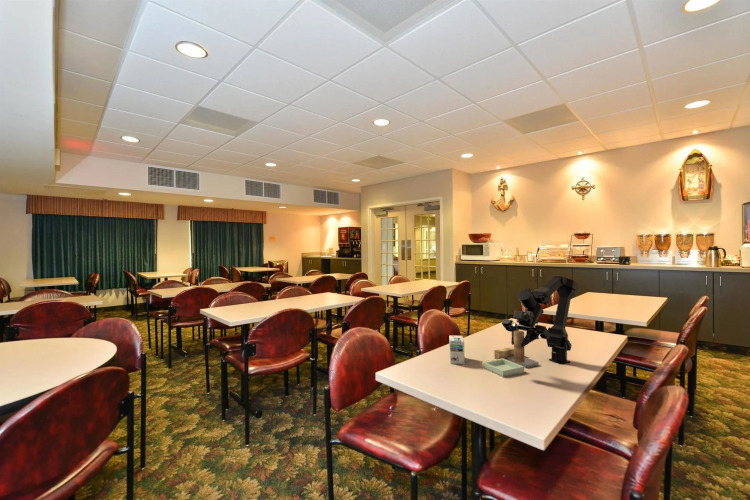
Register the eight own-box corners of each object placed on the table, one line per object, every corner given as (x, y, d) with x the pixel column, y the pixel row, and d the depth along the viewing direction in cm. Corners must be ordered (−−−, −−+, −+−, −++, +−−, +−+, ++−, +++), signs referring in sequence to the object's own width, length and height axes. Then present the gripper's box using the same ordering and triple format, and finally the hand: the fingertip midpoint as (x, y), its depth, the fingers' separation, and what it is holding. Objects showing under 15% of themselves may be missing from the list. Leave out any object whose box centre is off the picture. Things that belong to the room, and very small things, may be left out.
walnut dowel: (521, 359, 136) (520, 330, 136) (526, 362, 132) (526, 332, 132) (512, 359, 136) (511, 330, 136) (517, 362, 132) (517, 333, 132)
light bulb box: (464, 364, 150) (464, 341, 150) (449, 363, 151) (449, 340, 151) (463, 357, 161) (463, 335, 161) (449, 356, 162) (449, 334, 162)
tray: (502, 363, 150) (502, 358, 150) (524, 372, 139) (524, 366, 139) (482, 367, 146) (482, 362, 146) (502, 377, 135) (502, 371, 135)
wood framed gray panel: (517, 358, 159) (517, 354, 159) (538, 366, 148) (538, 362, 148) (505, 361, 156) (505, 356, 156) (525, 369, 145) (525, 364, 145)
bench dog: (515, 354, 164) (515, 346, 164) (520, 356, 161) (520, 348, 161) (494, 358, 158) (494, 350, 158) (499, 360, 155) (499, 351, 155)
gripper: (503, 300, 144) (488, 329, 138) (545, 306, 129) (531, 338, 122) (514, 316, 149) (500, 344, 142) (556, 323, 133) (542, 355, 127)
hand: (517, 345), depth 133 cm, fingers closed on walnut dowel, 4 cm apart
